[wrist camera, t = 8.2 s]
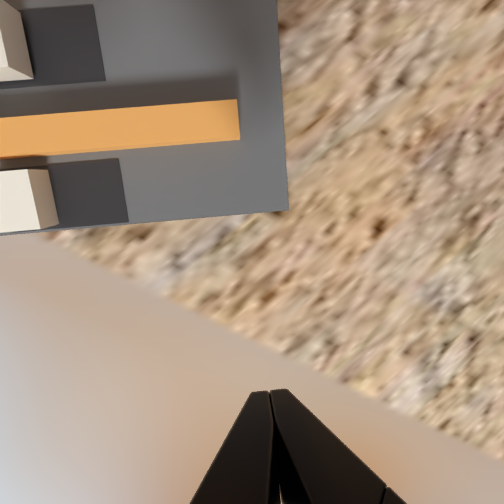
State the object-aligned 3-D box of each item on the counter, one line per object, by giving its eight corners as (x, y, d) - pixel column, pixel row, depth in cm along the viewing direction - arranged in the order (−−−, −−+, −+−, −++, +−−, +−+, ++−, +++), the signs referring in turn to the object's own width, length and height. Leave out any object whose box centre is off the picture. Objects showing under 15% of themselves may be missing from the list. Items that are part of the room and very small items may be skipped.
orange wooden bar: (236, 106, 15) (237, 98, 14) (239, 139, 15) (240, 136, 14) (-142, 136, 14) (-181, 132, 13) (-131, 170, 15) (-168, 169, 13)
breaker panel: (259, -126, 16) (268, -248, 11) (280, 204, 19) (294, 213, 14) (-194, -98, 15) (-376, -214, 11) (-90, 237, 18) (-196, 257, 14)
